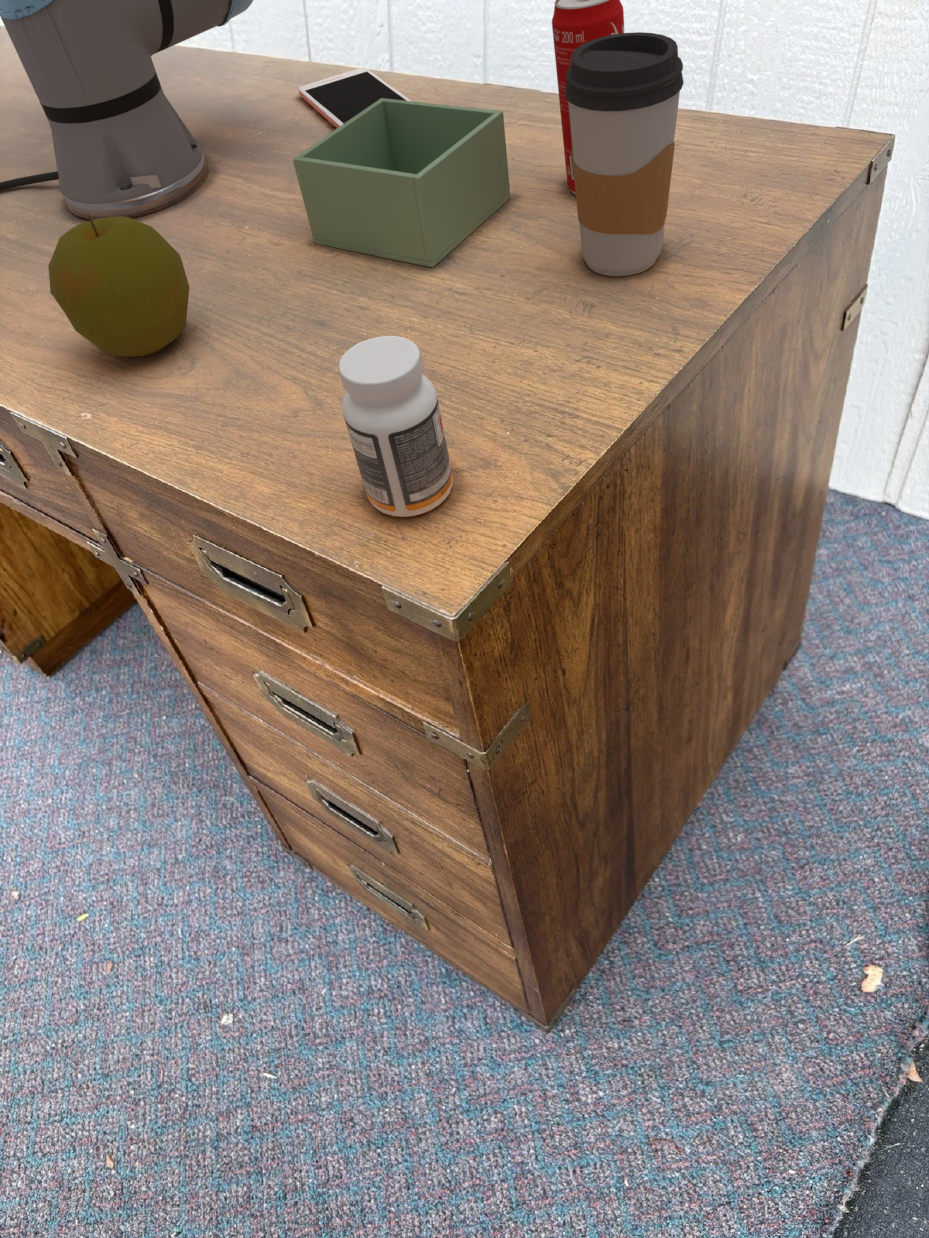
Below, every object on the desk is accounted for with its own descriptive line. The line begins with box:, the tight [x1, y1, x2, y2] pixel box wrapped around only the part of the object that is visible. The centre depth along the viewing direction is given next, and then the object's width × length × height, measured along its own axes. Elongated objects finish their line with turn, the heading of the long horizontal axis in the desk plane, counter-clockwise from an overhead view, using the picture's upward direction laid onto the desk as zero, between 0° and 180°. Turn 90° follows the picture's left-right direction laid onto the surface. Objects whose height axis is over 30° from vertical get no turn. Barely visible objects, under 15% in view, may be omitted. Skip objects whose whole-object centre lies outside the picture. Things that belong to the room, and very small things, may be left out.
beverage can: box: [551, 0, 625, 196], centre depth 75 cm, size 6×6×15 cm
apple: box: [47, 213, 191, 358], centre depth 69 cm, size 10×10×11 cm
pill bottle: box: [338, 335, 454, 518], centre depth 53 cm, size 6×6×10 cm
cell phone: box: [297, 67, 412, 129], centre depth 100 cm, size 9×18×1 cm, turn 25°
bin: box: [292, 98, 511, 268], centre depth 78 cm, size 13×13×8 cm
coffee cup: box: [565, 31, 685, 277], centre depth 66 cm, size 8×8×15 cm
